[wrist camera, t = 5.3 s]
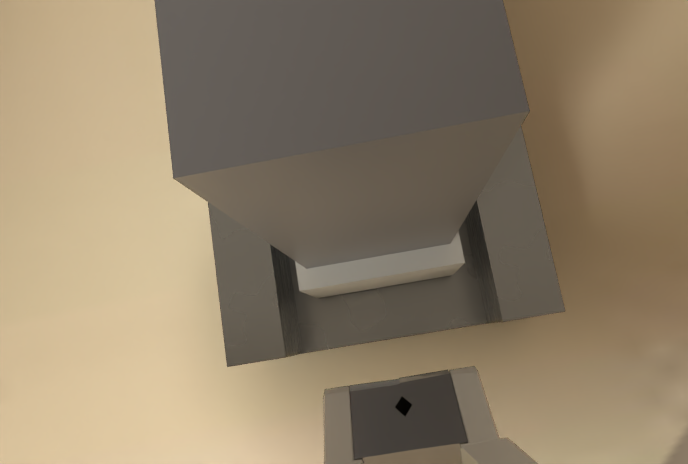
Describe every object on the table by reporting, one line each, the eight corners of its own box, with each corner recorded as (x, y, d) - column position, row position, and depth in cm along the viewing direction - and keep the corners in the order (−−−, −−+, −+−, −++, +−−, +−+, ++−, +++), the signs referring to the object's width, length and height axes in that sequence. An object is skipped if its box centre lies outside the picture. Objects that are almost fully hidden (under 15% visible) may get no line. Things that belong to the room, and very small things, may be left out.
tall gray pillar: (317, 298, 16) (153, 232, 5) (297, 169, 17) (120, -116, 6) (452, 275, 16) (568, 156, 5) (426, 145, 17) (479, -198, 6)
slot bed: (261, 359, 17) (227, 367, 14) (201, -102, 20) (162, -190, 17) (530, 315, 17) (565, 311, 13) (425, -152, 20) (430, -253, 16)
